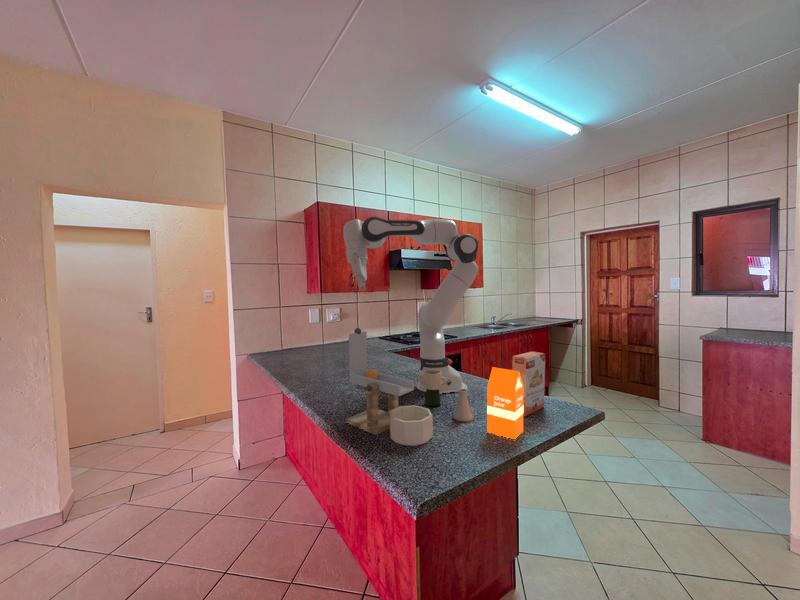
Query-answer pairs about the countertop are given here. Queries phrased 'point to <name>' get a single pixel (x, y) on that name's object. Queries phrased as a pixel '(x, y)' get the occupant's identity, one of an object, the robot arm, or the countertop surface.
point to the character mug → (432, 385)
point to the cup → (411, 425)
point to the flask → (463, 407)
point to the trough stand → (374, 412)
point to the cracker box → (531, 379)
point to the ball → (372, 374)
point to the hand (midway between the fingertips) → (362, 288)
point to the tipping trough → (360, 370)
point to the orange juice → (505, 403)
